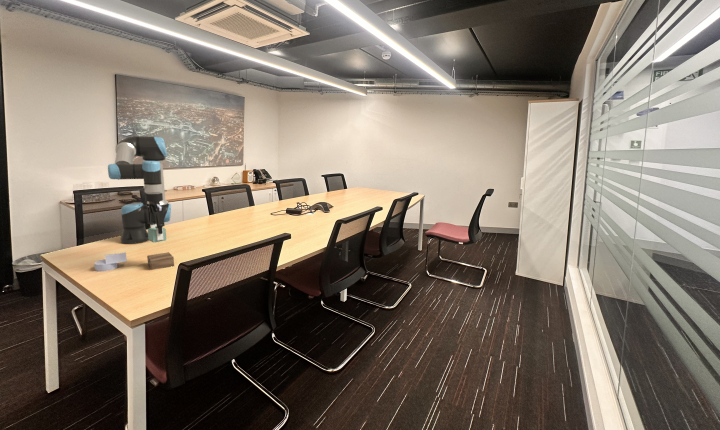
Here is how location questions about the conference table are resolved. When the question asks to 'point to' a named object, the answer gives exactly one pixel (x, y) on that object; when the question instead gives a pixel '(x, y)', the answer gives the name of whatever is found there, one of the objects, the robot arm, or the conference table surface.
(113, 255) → the wedge on round base
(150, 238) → the green cube
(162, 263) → the walnut block
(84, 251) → the conference table surface
